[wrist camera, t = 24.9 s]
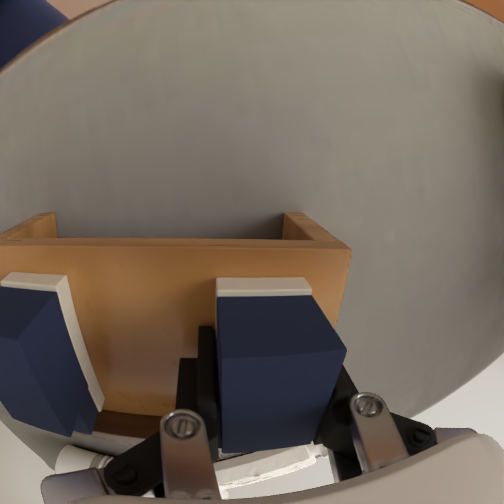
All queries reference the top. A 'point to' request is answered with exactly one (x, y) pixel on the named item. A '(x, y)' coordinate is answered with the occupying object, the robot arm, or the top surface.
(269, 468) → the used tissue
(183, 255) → the shoe shelf
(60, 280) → the block
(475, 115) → the top surface
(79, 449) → the striped cup with float
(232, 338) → the block
